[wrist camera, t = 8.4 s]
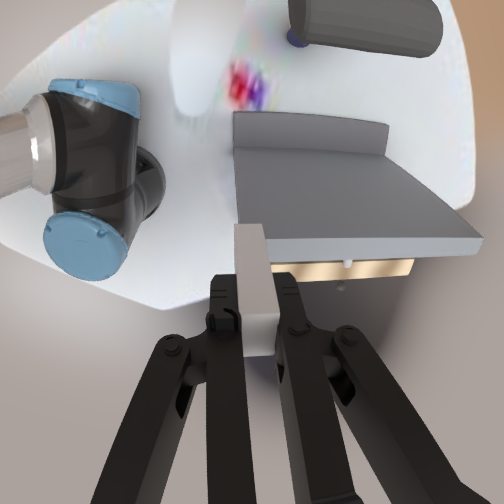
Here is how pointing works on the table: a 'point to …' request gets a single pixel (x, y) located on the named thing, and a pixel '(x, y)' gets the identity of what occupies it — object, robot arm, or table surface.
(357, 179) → the panel
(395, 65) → the table surface
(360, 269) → the frame
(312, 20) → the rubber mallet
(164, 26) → the table surface
